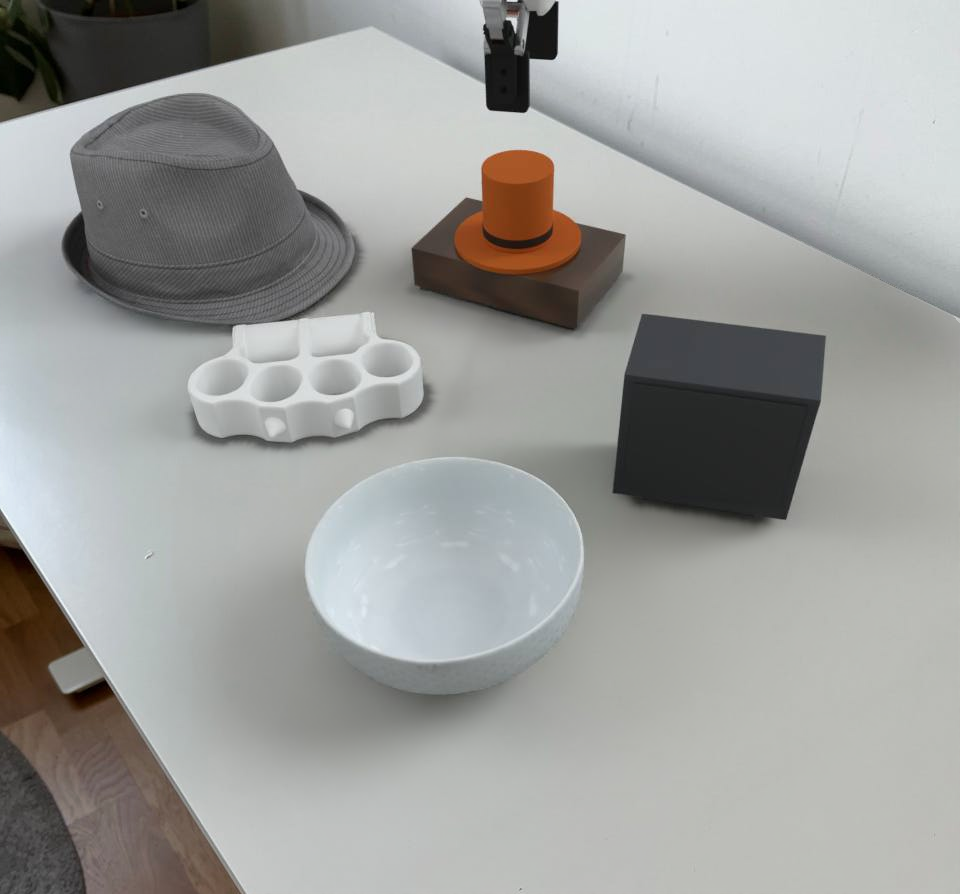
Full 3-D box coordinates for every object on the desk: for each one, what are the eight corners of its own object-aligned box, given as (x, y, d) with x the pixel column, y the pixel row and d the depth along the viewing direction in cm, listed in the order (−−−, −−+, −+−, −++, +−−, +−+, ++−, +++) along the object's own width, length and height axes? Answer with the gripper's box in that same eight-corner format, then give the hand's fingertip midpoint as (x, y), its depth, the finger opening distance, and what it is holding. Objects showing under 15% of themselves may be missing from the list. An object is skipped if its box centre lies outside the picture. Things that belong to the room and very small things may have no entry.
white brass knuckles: (413, 331, 85) (431, 439, 75) (202, 353, 83) (194, 465, 74) (410, 295, 82) (427, 403, 73) (192, 317, 81) (182, 430, 72)
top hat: (555, 201, 90) (558, 127, 85) (599, 260, 83) (605, 184, 78) (440, 222, 88) (435, 148, 83) (475, 284, 82) (472, 208, 77)
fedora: (239, 366, 82) (202, 223, 72) (14, 280, 92) (-45, 145, 82) (403, 235, 95) (389, 99, 85) (190, 172, 104) (157, 44, 95)
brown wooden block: (622, 276, 89) (626, 234, 86) (576, 333, 84) (578, 290, 81) (467, 237, 94) (465, 196, 91) (414, 289, 89) (411, 247, 86)
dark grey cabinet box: (627, 442, 74) (642, 313, 66) (790, 465, 72) (826, 335, 64) (610, 505, 70) (623, 376, 62) (782, 533, 68) (820, 402, 59)
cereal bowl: (388, 509, 71) (377, 430, 65) (611, 566, 66) (620, 487, 61) (272, 688, 61) (248, 613, 55) (526, 768, 56) (527, 696, 51)
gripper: (548, -169, 57) (546, 136, 70) (603, -234, 67) (592, 42, 80) (424, -170, 58) (445, 129, 71) (497, -234, 69) (503, 37, 82)
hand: (523, 83), depth 76 cm, fingers open, 9 cm apart
